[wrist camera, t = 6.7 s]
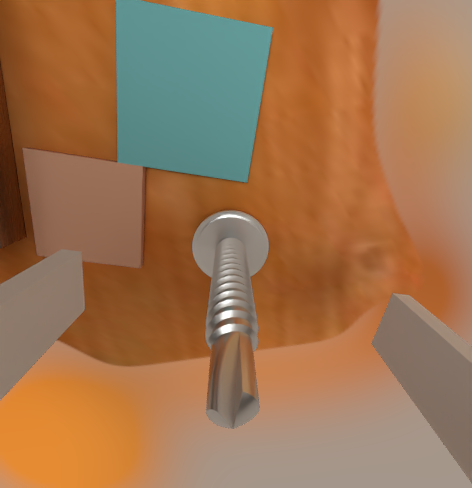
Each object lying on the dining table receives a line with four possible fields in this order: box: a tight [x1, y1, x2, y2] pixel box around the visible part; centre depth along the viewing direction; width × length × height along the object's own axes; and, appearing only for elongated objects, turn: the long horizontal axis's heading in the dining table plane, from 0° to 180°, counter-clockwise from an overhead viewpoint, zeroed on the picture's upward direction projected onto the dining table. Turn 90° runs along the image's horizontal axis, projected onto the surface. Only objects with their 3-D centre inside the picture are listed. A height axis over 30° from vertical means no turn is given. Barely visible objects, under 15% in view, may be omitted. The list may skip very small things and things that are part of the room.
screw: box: [192, 210, 269, 429], centre depth 12 cm, size 13×5×5 cm
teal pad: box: [116, 0, 273, 183], centre depth 14 cm, size 8×8×1 cm
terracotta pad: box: [22, 148, 146, 268], centre depth 17 cm, size 7×7×1 cm
